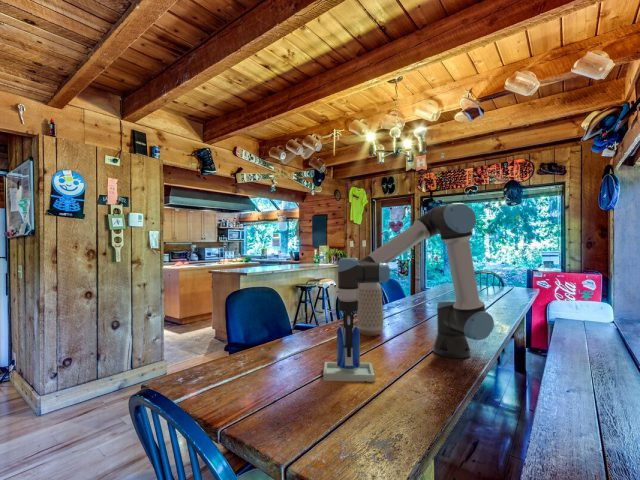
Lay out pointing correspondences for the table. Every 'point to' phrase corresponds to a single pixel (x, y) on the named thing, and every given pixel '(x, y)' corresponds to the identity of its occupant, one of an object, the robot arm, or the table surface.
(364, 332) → the vase
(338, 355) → the beer can
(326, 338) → the table surface
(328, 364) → the tray
